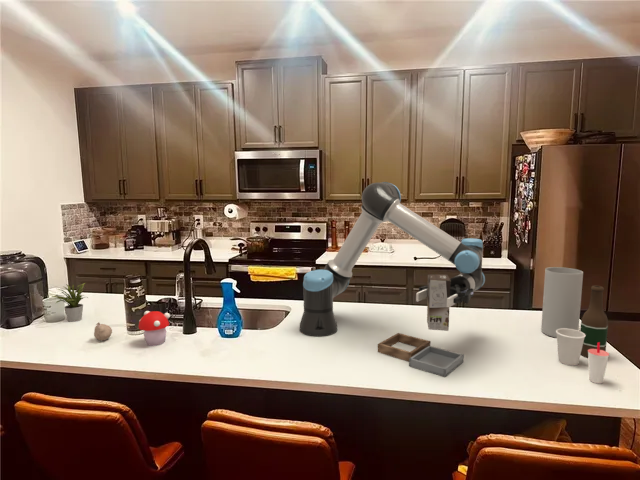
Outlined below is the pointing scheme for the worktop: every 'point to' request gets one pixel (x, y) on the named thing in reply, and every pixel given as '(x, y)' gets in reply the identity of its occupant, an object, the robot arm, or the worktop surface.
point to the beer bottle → (594, 323)
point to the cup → (597, 364)
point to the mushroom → (154, 327)
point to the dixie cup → (569, 345)
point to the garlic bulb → (102, 332)
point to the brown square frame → (386, 349)
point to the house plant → (72, 303)
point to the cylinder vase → (561, 299)
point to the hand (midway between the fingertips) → (432, 300)
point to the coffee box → (438, 302)
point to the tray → (436, 360)
